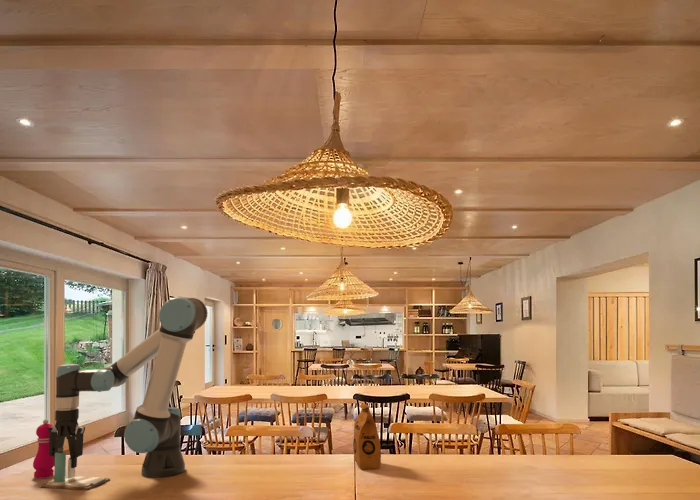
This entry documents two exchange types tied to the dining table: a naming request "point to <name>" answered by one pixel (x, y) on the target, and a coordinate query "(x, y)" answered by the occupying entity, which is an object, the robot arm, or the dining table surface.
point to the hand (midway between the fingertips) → (65, 477)
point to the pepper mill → (43, 453)
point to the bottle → (60, 465)
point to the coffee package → (366, 440)
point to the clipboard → (76, 483)
